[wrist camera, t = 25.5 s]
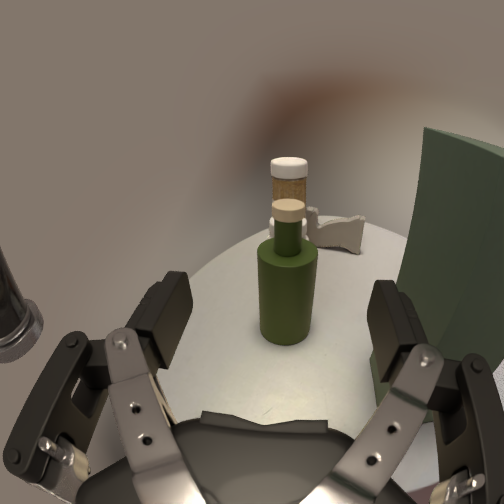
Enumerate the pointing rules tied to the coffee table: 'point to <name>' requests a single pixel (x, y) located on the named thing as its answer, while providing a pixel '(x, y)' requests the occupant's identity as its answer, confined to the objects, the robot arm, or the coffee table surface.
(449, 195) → the pedestal
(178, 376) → the coffee table surface
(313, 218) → the grey tape dispenser
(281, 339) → the olive bottle
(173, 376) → the coffee table surface
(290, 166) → the sprinkles bottle
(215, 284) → the coffee table surface
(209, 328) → the coffee table surface
